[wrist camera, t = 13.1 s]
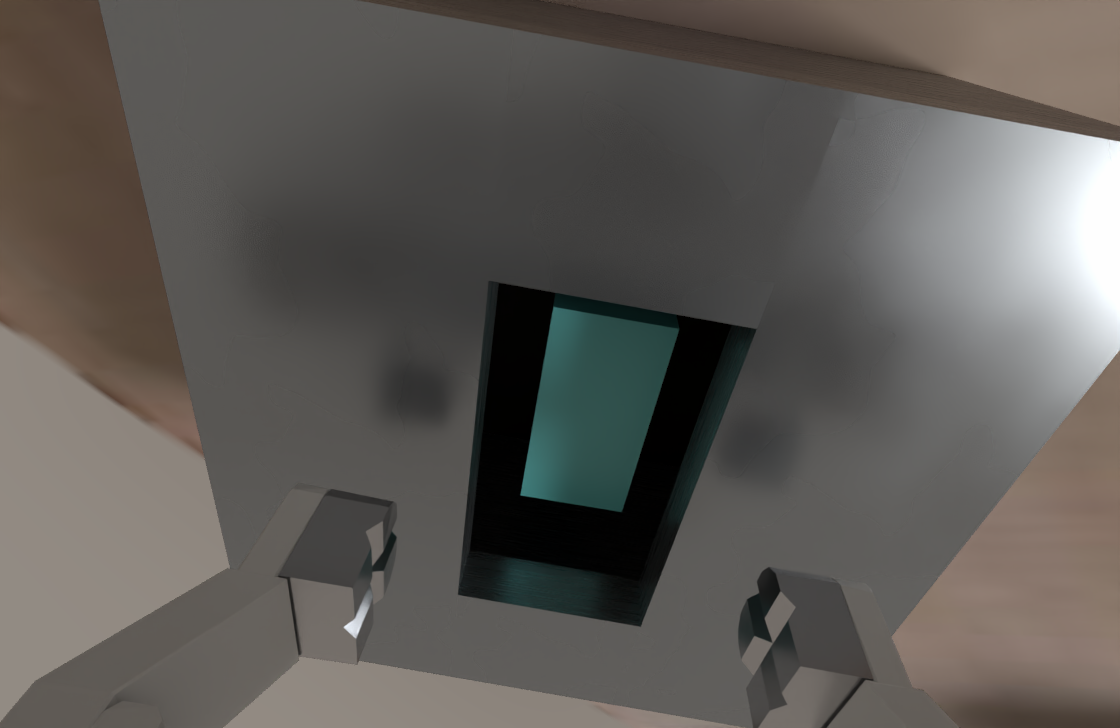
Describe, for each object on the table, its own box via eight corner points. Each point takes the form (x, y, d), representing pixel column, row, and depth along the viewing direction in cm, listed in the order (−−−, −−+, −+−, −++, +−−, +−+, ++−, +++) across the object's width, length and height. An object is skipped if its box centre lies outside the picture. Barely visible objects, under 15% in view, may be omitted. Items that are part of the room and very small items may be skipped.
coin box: (350, -35, 14) (87, -50, 7) (950, 76, 14) (1263, 168, 7) (365, 432, 21) (247, 641, 15) (750, 501, 21) (810, 738, 15)
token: (570, 205, 16) (553, 306, 11) (657, 220, 16) (679, 328, 11) (543, 358, 19) (520, 495, 14) (618, 370, 19) (622, 512, 14)
